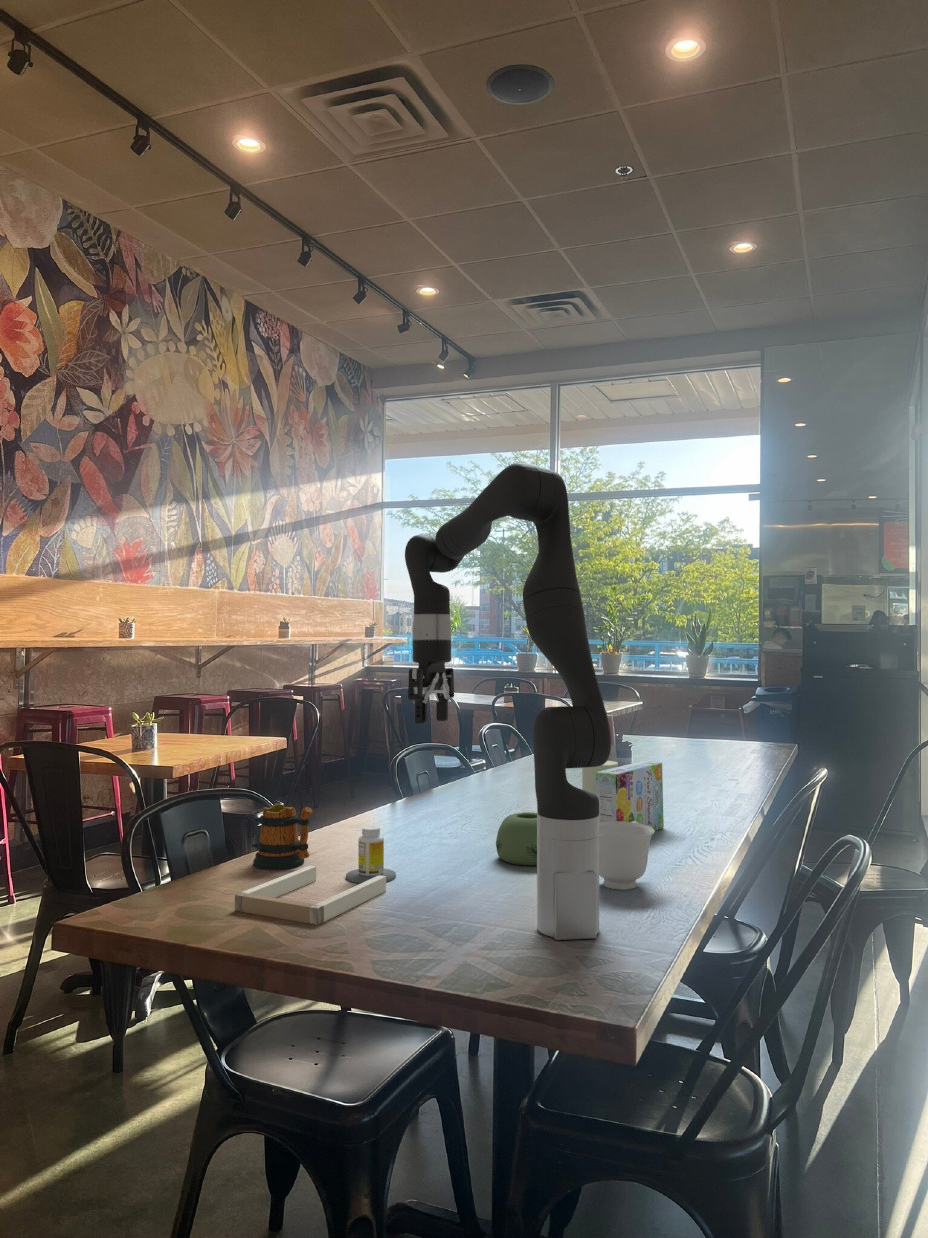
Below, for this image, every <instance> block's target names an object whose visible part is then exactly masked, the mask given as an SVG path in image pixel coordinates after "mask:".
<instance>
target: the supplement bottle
mask: <svg viewBox="0 0 928 1238" xmlns="http://www.w3.org/2000/svg"><path fill="white" fill-rule="evenodd" d="M384 842H385V841H384V836H383V835H381V827H380V826H377V825H365V826H362V829H361V835H360V836H359V837H358V849H357V850H358V856H357V857H358V859H357V860H358V861H357V862H358V869H359V874H360V875H362V876H368V877H372V876H378V875H381V874H382V873H383V872H384V869H385V864H384V862H385V861H384V860H385V859H384V857H385V855H384V854H385V853H384V852H385V851H384V849H385V848H384V847H385V845H384Z"/></svg>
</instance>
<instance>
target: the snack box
mask: <svg viewBox="0 0 928 1238" xmlns="http://www.w3.org/2000/svg"><path fill="white" fill-rule="evenodd" d="M663 788H664V787H663V762H659V761H649V760H641V761H638V762H633V763H629V764H625V765H621V766H618V767H616V768H612V769H608V770H603V771H599V772H596V796H597V797H598V799H599V822H607V821H621V822H633V821H635V822H638V823H639V824H644V825H647V826H650V827H652V828H653V829H654V831H655V832H656V831H658V830H661V829H663V828H665V825H664V824H665V823H664V822H665V821H664V791H663V790H664V789H663Z"/></svg>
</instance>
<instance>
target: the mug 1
mask: <svg viewBox="0 0 928 1238" xmlns="http://www.w3.org/2000/svg"><path fill="white" fill-rule="evenodd" d="M311 815H313V809H312V808H311V807H309V806H305V807H303V808H302V810H301V813H300V816H299V815H297V814H296V808H295V807H293V806H285V804H281V803H276V804H273V805H272V807H268V806H267V807H265V806H264V807H263V810H262V814H261V815H260V816H259V817H257V818H254V819H253V820H254V822H258V824H261V825H260V833H259V834H260V835H259V840H258V842H257V843H253V844H251V847H253V848H256V850H257V852H256V853H255V856H254V857H255V858H254V859H253V861H252V864H253V867H254V868H255V869H258V870H263V871H285V870H291V869H292V870H293V869H296V868H299V867H301V866H303V865H304V863H305V859H307V858H310V852H309V851H308V849H309V843H308V838H309V825H310V819H309V818H310V817H311ZM298 824H299V825H300V833H298Z"/></svg>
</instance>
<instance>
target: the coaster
mask: <svg viewBox="0 0 928 1238" xmlns="http://www.w3.org/2000/svg"><path fill="white" fill-rule="evenodd" d="M380 876H386V883H389V882H391V881H394V880H395V879H396V878H397V873H396V872H395V871H394V870H392V869H388V868H384V872H383V873H382V874H381V875H380ZM374 877H376V876H372V877H368V876H362V875H360V874H359V868H356V869H352V870H350V871H348V872H347V873H346V874H345V879H346V881H348V882H351V883H354V884H361V883H363V882H365V881H367V880H370V879H372V878H374Z"/></svg>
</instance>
